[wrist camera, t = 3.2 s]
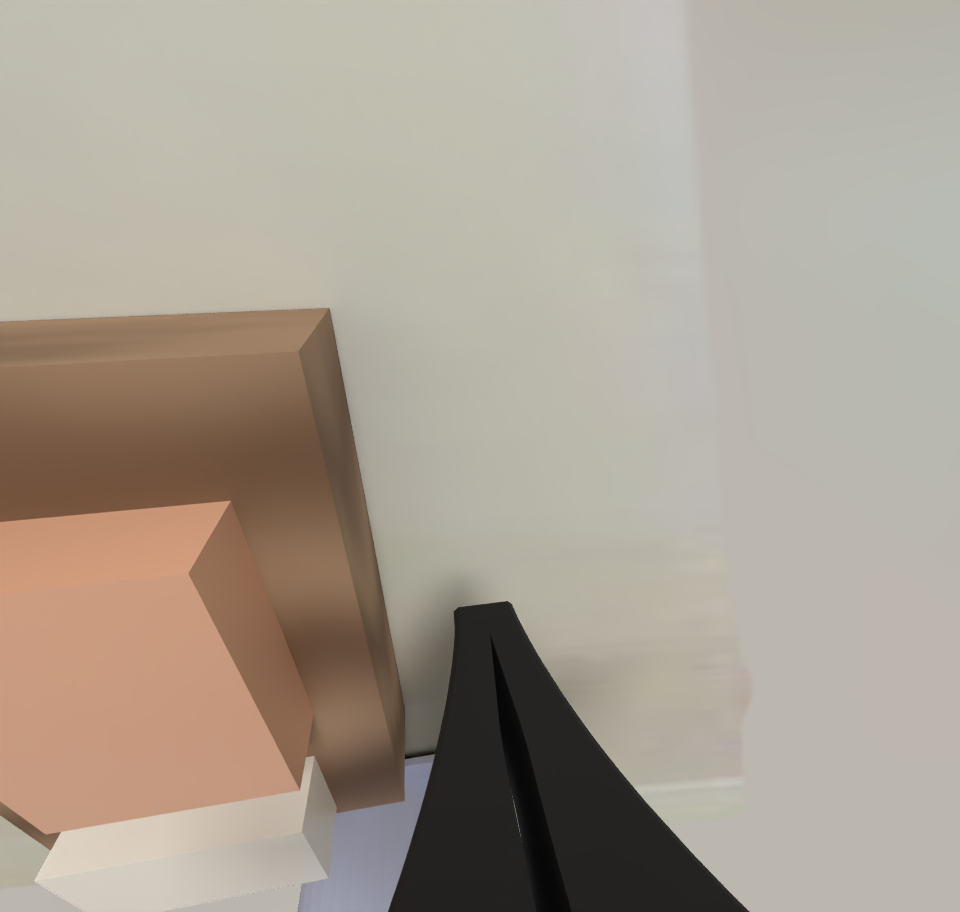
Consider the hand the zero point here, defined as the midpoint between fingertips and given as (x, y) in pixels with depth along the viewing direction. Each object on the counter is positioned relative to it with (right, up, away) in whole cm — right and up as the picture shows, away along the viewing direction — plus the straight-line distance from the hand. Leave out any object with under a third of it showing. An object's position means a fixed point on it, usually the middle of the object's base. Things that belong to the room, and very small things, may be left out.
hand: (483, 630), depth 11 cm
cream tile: (-9, -8, +4) cm, 12 cm away
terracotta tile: (-8, 0, 0) cm, 8 cm away
